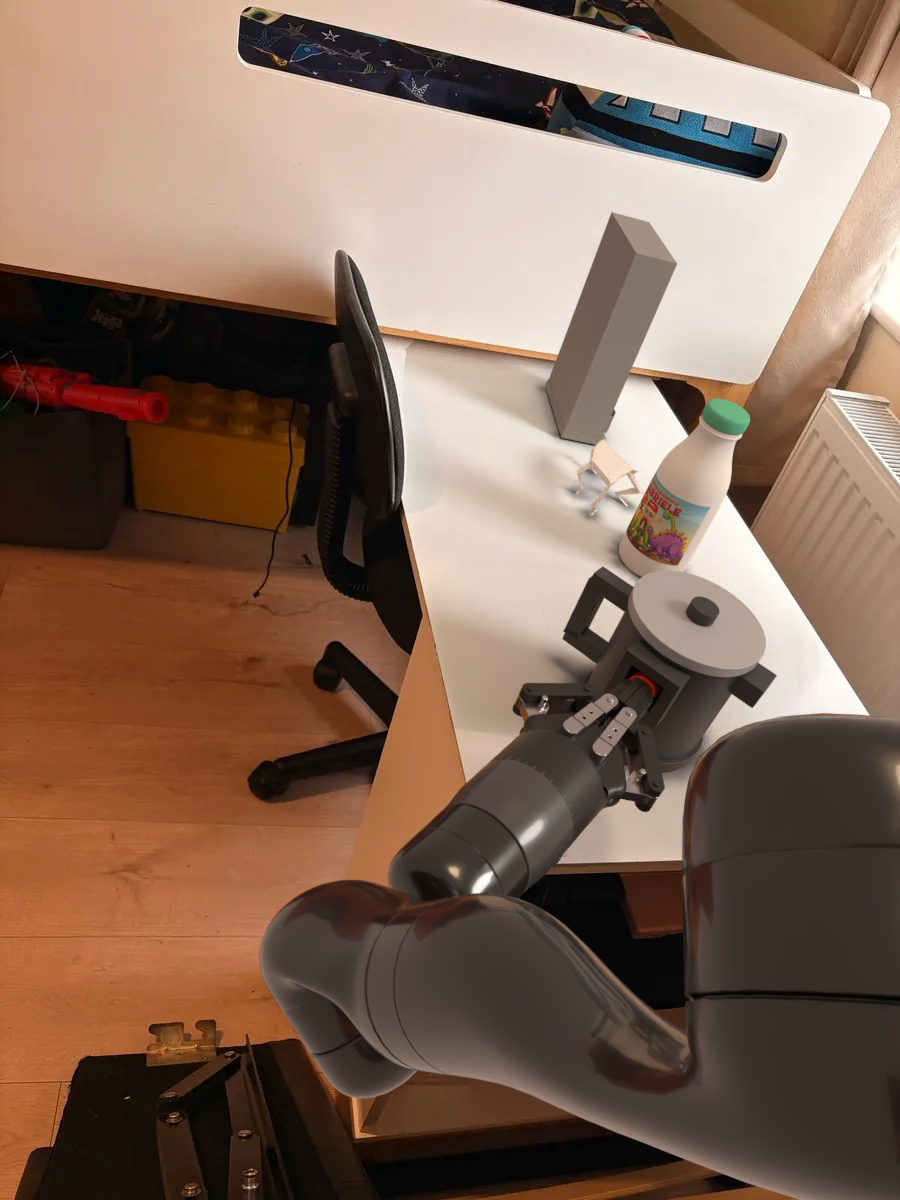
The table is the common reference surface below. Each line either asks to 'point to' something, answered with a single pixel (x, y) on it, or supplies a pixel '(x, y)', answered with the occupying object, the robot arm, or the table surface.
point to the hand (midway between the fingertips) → (639, 690)
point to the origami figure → (609, 471)
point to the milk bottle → (685, 493)
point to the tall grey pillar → (608, 327)
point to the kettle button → (647, 682)
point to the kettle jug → (673, 652)
